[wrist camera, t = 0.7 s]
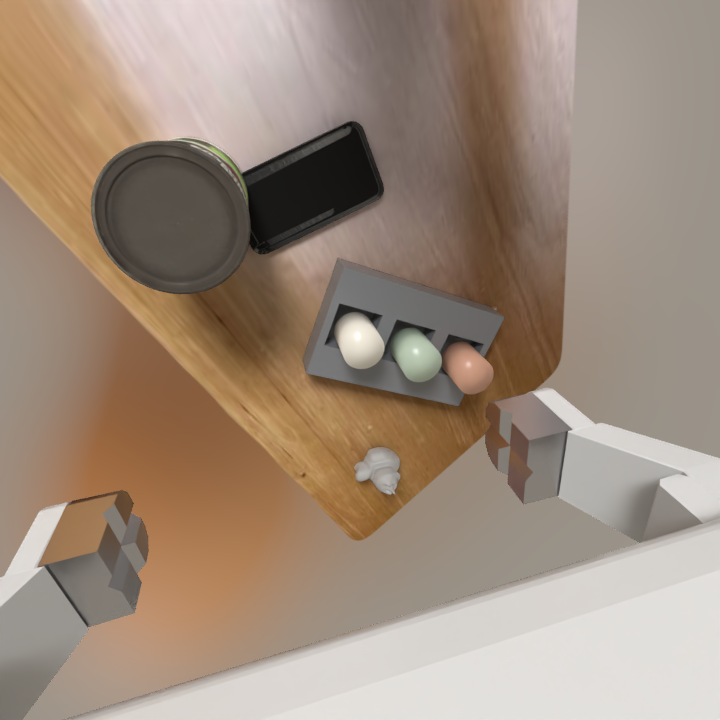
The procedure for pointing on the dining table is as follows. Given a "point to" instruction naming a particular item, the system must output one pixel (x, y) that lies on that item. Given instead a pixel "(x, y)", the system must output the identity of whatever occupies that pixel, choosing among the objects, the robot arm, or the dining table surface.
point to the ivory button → (358, 340)
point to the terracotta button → (467, 367)
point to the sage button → (415, 355)
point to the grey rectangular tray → (396, 329)
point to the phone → (310, 187)
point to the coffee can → (173, 214)
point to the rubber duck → (380, 469)
